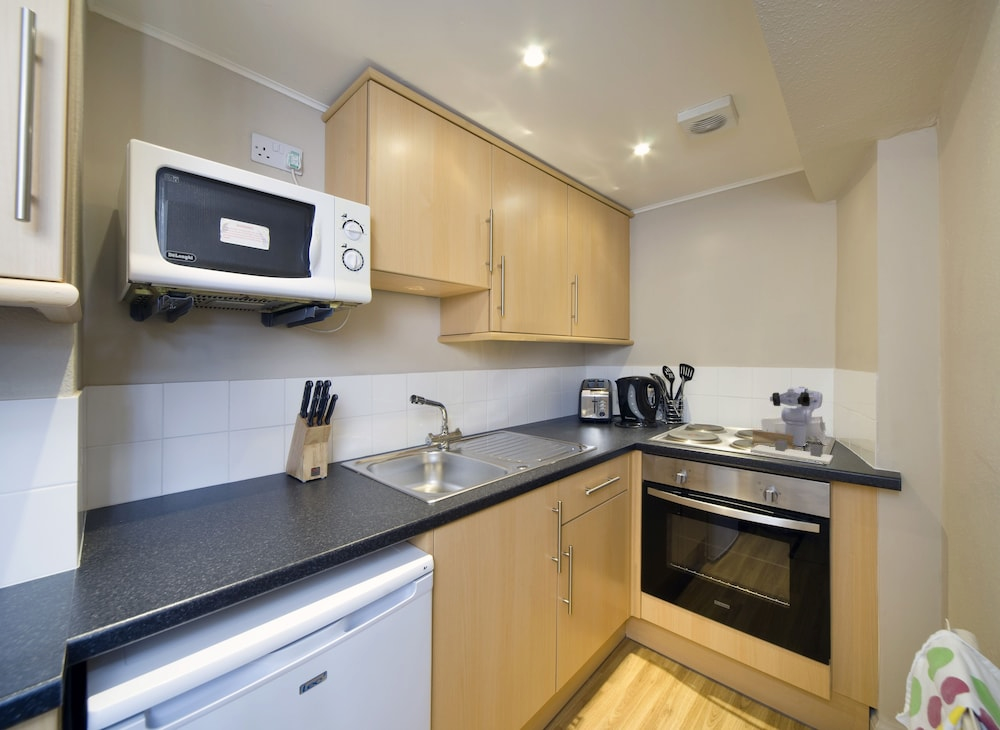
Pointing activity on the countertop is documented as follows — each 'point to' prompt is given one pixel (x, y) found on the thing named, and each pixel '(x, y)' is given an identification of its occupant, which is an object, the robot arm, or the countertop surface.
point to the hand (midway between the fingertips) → (786, 401)
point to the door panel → (772, 438)
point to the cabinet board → (794, 452)
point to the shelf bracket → (812, 428)
